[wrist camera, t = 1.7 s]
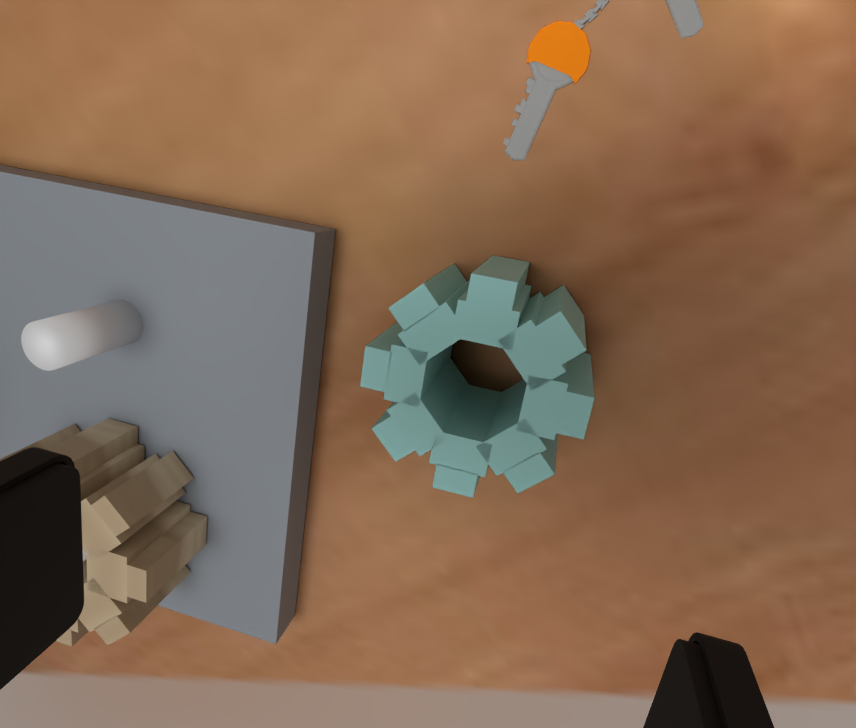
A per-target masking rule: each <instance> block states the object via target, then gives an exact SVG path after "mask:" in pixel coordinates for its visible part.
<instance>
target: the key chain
mask: <svg viewBox="0 0 856 728" xmlns="http://www.w3.org/2000/svg"><path fill="white" fill-rule="evenodd" d="M608 1H609V0H598V1H597V2H596V5H597V6H596V7H595V8H594V9H592V8H591V9H590V10H589V11H588V12H587V13H586V14H585V18H584V19H582V20H581V19H579V20H577V21H576V22H574V23H572V22H561V21H556V22H554V23H552V24H550V25H548V26H546V27H544V28H542V29H540V31H539V32H538V33H537V35H536V36H535V38H534V39H533V40H532V42H531V43H530V45H529V51H528V56H527V62H526V63H528V62H529V64H530V67H531V70H532V73H533V76H534V79H535V80H533V79H531V78H528V80H527V82H526V85H528V87H527V89H526V93H528V94H529V96H528V99H527V101H526V100H524V99H522V101H521V103H520V105H518V104H517V106H516V108H515V110H514V111H516V112H518V113H520V114H521V115H520V117H519V119H518V120H517V119H513V122H512V124H511V125H513V126H515V129H514V131H513V133H512V136H511V138H510V139H508V138H505V140H504V143H503V144H505V145H507V147H506V149H505V153H506V154H507V155H508V156H509V157H510V158H511V159H512V160H523V161H524V160H525V158H526V155H527V153H528V151H529V149H530V146H531V144H532V142H533V140H534V138H535V135H536V133H537V131H538V129H539V126H540V124H541V122H542V120H543V118H544V115H545V113H546V111H547V109H548V106H549V104H550V102H551V100H552V97H553V95H554V93H555V91H556V89H560V88H562V87H564V86H566V85H568V84H570V83H572V82H575V84H576V83H577V81H578V80H579V79H580V78H581V76H582V75H583V74H584V72H585V71H586V70H587V66H588V61H589V56H590V52H591V50H590V46H589V43H588V40H587V36H586V33H585V32H583V31H582V30H581V29H582V28H584V27H585V26H584V23H586V22H587V21H589V23H590V22H591V21H592V20H593V19H594V18H595V17H596V16H597V15H598V14H597V13H596V12H597V11H598V10H599V9H601V10H603V8H604V7H605V6H606V4H607V3H608ZM666 2H667V5H668V7H669V10H670V12H671V15H672V17H673V20H674V22H675V25H676V27H677V30H678V32H679V34H680V36H681V38H682V39H683V38H686V37H690V36H694V35H696V33H697V32H698V31H699V30H700V29H701V28H702V27H703V26H704V23H703V20H702V17H701V14H700V10H699V7H698V4H697V2H696V0H666Z"/></svg>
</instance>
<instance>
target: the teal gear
mask: <svg viewBox="0 0 856 728" xmlns="http://www.w3.org/2000/svg"><path fill="white" fill-rule="evenodd" d="M529 264H530V262H526V261H521V260H516V259H510V258H505V257H500V256H495V255H492V256H491V257H490V258H489V259H488V260H487V261H485V262H484V263H483V264H482V265H481V266H479V267H478V268H477V269H476V270H475V271H473V272H472V273H471V277H470V280H469V281H466V280H465V278H464V277H463V275H462V274H461V272H460V271H459V269H458V268H457V266H456V265H455V263H454V264H453V265H451V266H449V267H448V268H446V269H445V270H443V271H442V272H440V273H439V274H437V275H435V276H434V277H432V278H431V279H429V280H428V281H426V282H425V283H423V284H422V285H420V286H419V287H417V288H416V289H414V290H413V291H412V292H410V293H409V294H407V295H406V296H405V297H403V298H402V299H400V300H399V301H397V302H396V303H395V304H393V305H392V306H390V307H389V308H388V309H389V310H390V311H391V313H392V314H393V316H394V317H395V319H396V320H397V321H398V322H396V323H395V324H394V325H392V326H391V327H390V328H388V329H387V330H386V331H384V332H383V333H382V334H381V335H379V336H378V337H377V338H375V339H374V340H373V341H371V342H370V343H369V344H367V345H366V346H365V353H364V361H363V368H362V376H361V384H360V386H361V387H365V388H369V389H374V390H378V391H382V392H385V394H384V399H385V400H389V401H393V403H392V404H391V405H390V407H389V408H388V409H387V410H386V412H385V413H384V414H383V415H382V416H381V418H380V419H379V420H378V421H377V422H376V424H375V425H374V426H373V427H372V428H371V429H372V430H373V431H374V433H375V434H376V436H377V437H378V438H379V440H380V441H381V442H382V444H383V445H384V447H385V448H386V449H387V451H388V452H389V454H390V455H391V456H392V458H393V459H394V461H395V462H396V461H398V460H400V459H401V458H403V457H405V456H406V455H408V454H410V453H412V452H413V451H416V452H417V454H418V455H419V456H421V455H423V454H424V453H426V452H428V451H430V450H431V449H432V450H431V455H430V461H429V463H431V464H435V465H436V470H435V475H434V481H433V486H432V487H434V488H437V489H441V490H445V491H449V492H453V493H456V494H460V495H464V496H468V497H472V498H473V496H474V493H475V490H476V487H477V484H478V481H479V478H480V476H482V477H485V476H486V473H487V469H488V466H490V467H491V469H492V470H493V472H494V473H495V474H496V476H498V475H500V474H502V473H504V475H505V476H506V478H507V479H508V480H509V482H510V483H511V485H512V486H513V488H514V489H515V490H516V492H517V493H520V492H522V491H524V490H526V489H528V488H530V487H531V486H533V485H535V484H537V483H539V482H541V481H543V480H545V479H547V478H549V477H551V476H553V475H555V465H556V451H557V437H558V434H562V435H566V436H570V437H574V438H579V439H583V440H584V436H585V432H586V429H587V425H588V421H589V417H590V414H591V410H592V406H593V402H594V399H595V396H594V385H593V375H592V364H591V354H588V353H583V352H585V351H586V335H585V321H584V315H583V313H582V312H581V310H580V309H579V307H578V306H577V304H576V303H575V301H574V300H573V298H572V297H571V295H570V294H569V292H568V291H567V289H566V287H565V286H564V285H562V286H561V287H559V288H558V289H556V290H554V291H553V292H551V293H550V294H548V295H547V296H545V297H544V296H543V295H542V293H541V292H539V293H537V294H536V295H534V296H533V297H531V298H530V299H529V296H530V291H531V287H532V286H530V285H525V282H526V278H527V273H528V268H529ZM460 339H462V340H467V341H471V342H476V343H480V344H485V345H490V346H494V347H499V348H503V349H504V351H505V352H506V354H507V355H508V357H509V358H510V360H511V361H512V363H513V364H514V366H515V367H516V369H517V370H518V371H519V373H520V374H521V376H522V377H523V380H521V381H519V382H518V383H516V384H514V385H513V386H511V387H509V388H507V389H506V390H504V391H502V392H499V391H494V390H490V389H486V388H481V387H477V386H473V385H469V384H468V383H467V381H466V380H465V378H464V377H463V375H462V374H461V372H460V371H459V370H458V368H457V367H456V365H455V364H454V362H453V361H452V359H451V358H450V357H451V352H452V346H453V344H454V343H455V342H457V341H458V340H460Z"/></svg>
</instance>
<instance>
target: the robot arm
mask: <svg viewBox="0 0 856 728" xmlns="http://www.w3.org/2000/svg"><path fill="white" fill-rule="evenodd" d="M83 607H84V576H83V546H82V516H81V486H80V474H79V471H78V470H77V469H76V468H75V465H74V462H73V460H72V459H71V458H70V457H68V456H66V455H63V454H59V453H56V452H52V451H49V450H45V449H42V448H37V447H31V448H28V449H25V450H23V451H21V452H19V453H16V454H14V455H12V456H10V457H8V458H6V459H4V460H2V461H0V689H2V688H3V687H4V686H5V685H6V684H7V683H8V682H9V681H11V680H12V679H13V678H14V677H15V676H16V675H17V674H19V673H20V672H21V671H22V670H23V669H24V668H25V667H26V666H28V665H29V664H30V663H31V662H32V661H33V660H34V659H35V658H37V657H38V656H39V655H40V654H41V653H42V652H43V651H45V650H46V649H47V648H48V647H49V646H50V645H51V644H52V643H54V642H55V641H56V640H57V639H58V638H59V637H60V636H62V635H63V634H64V633H65V632H66V631H67V630H68V629H69V628H71V627H72V626H73V624H74V623H75V622H76V621H77V619H78V618H79V616H80V614H81V612H82V610H83ZM643 728H774V726H773V723H772V721H771V718H770V716H769V713H768V710H767V708H766V705H765V702H764V700H763V697H762V694H761V692H760V689H759V686H758V684H757V681H756V678H755V676H754V673H753V670H752V668H751V665H750V662H749V660H748V657H747V655H746V652H745V650H744V648H743V647H742V646H741V645H739V644H737V643H733V642H730V641H726V640H723V639H719V638H715V637H712V636H708V635H705V634H701V633H698V632H697V633H694V634H693V635H692V636H691V637H690V639H689V641H685V640H681V639H678V640H677V641H676V642H675V644H674V646H673V648H672V651H671V653H670V656H669V659H668V662H667V664H666V667H665V670H664V673H663V675H662V678H661V681H660V684H659V686H658V689H657V692H656V695H655V697H654V700H653V703H652V705H651V708H650V711H649V714H648V716H647V719H646V722H645V725H644V727H643Z"/></svg>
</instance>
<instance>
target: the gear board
mask: <svg viewBox="0 0 856 728" xmlns="http://www.w3.org/2000/svg"><path fill="white" fill-rule="evenodd" d="M335 230H336V229H333V228H327V227H322V226H317V225H312V224H307V223H301V222H296V221H291V220H286V219H281V218H275V217H270V216H265V215H260V214H255V213H249V212H244V211H239V210H234V209H229V208H223V207H218V206H213V205H208V204H203V203H197V202H192V201H187V200H182V199H177V198H171V197H166V196H161V195H156V194H151V193H145V192H140V191H135V190H130V189H124V188H119V187H114V186H109V185H104V184H98V183H93V182H88V181H83V180H78V179H72V178H67V177H62V176H57V175H52V174H46V173H41V172H36V171H31V170H26V169H20V168H15V167H10V166H5V165H0V459H1V458H3V457H6V456H8V455H10V454H12V453H14V452H16V451H18V450H20V449H22V448H25V447H27V446H29V445H31V444H33V443H35V442H37V441H39V440H41V439H43V438H46V437H48V436H50V435H52V434H54V433H56V432H58V431H60V430H62V429H65V428H67V427H69V426H71V425H73V424H75V425H76V426H77V427H78V429H79V430H80V431H83V430H85V429H87V428H89V427H91V426H93V425H95V424H97V423H99V422H101V421H103V420H105V419H107V418H109V419H112V420H116V421H120V422H123V423H127V424H131V425H135V426H138V444H140V445H144V461H145V460H146V459H148V458H149V457H151V456H153V455H154V454H156V455H157V456H158V457H159V459H161V458H162V457H164V456H165V455H167V454H168V453H170V452H172V451H173V452H174V453H175V454H176V456H177V457H178V458H179V460H180V461H181V462H182V463H183V465H184V466H185V467H186V469H187V470H188V471H189V473H190V474H191V475H192V476H193V478H194V479H192V480H191V481H190V482H188V483H187V484H186V485H184V486H183V487H182V488H183V490H184V491H185V492H186V493H185V494H184V495H182V496H181V497H180V498H179V499H177V500H176V501H178V502H182V503H185V504H188V505H190V512H194V513H197V514H201V515H204V516H207V530H206V545H205V546H204V547H203V548H202V549H201V550H200V551H199V552H198V553H197V554H196V555H195V556H194V557H193V558H192V559H191V560H190V561H189V562H188V563H187V564H186V567H187V568H188V569H189V571H190V573H189V574H188V575H187V576H186V577H185V578H184V579H183V580H182V581H181V582H180V583H179V584H178V585H177V586H176V587H175V588H174V589H173V590H172V591H171V592H170V593H169V594H168V595H167V596H166V597H165V598H164V599H163V600H162V601H161V602H160V603H159V604H158V606H161V607H164V608H167V609H170V610H173V611H177V612H180V613H183V614H186V615H189V616H192V617H195V618H198V619H201V620H204V621H207V622H210V623H213V624H216V625H219V626H222V627H226V628H229V629H232V630H235V631H238V632H241V633H244V634H247V635H250V636H253V637H256V638H259V639H262V640H265V641H268V642H271V643H274V644H276V643H277V642H278V640H279V639H280V637H281V636H282V634H283V633H284V631H285V629H286V628H287V626H288V625H289V623H290V622H291V620H292V619H293V617H294V616H295V609H296V600H297V590H298V581H299V572H300V562H301V553H302V543H303V534H304V524H305V515H306V505H307V496H308V486H309V477H310V467H311V458H312V448H313V439H314V429H315V420H316V410H317V401H318V391H319V382H320V373H321V363H322V354H323V344H324V335H325V325H326V316H327V306H328V297H329V287H330V278H331V268H332V259H333V249H334V240H335ZM85 560H86V553H85V552H84V550H83V561H85Z"/></svg>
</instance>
